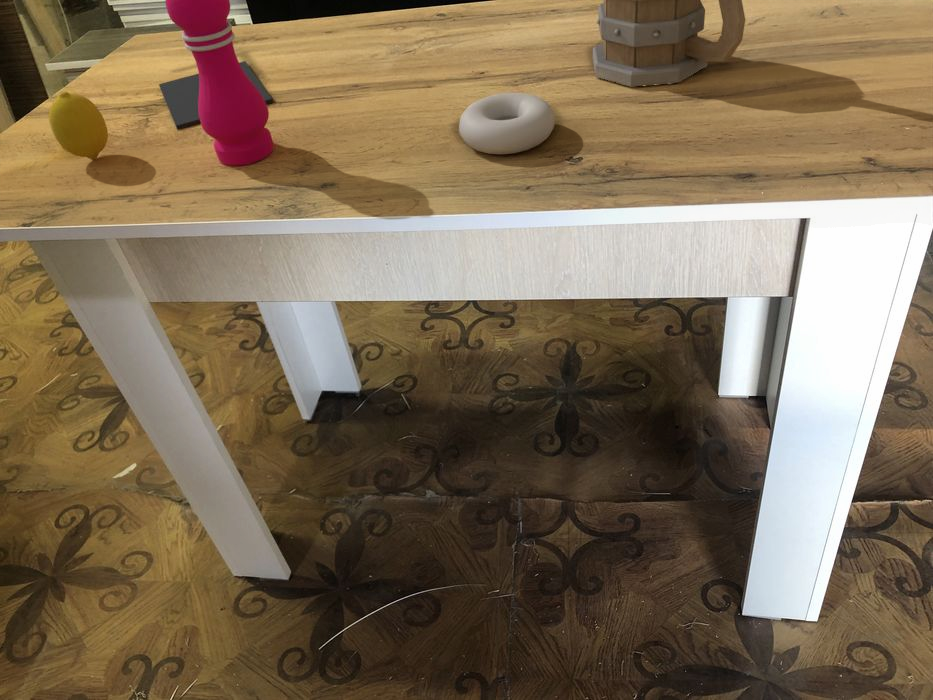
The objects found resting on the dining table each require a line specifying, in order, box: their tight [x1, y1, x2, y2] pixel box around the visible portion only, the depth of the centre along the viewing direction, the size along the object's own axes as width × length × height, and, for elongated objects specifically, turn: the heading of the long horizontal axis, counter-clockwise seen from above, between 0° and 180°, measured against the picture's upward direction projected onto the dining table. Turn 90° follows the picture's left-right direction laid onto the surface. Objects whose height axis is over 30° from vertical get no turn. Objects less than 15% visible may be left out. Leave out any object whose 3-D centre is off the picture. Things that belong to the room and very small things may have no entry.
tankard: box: [592, 0, 746, 88], centre depth 84 cm, size 20×13×15 cm, turn 42°
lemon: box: [48, 91, 109, 161], centre depth 87 cm, size 6×6×8 cm
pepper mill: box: [165, 0, 275, 167], centre depth 79 cm, size 7×7×20 cm
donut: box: [458, 92, 556, 155], centre depth 80 cm, size 10×4×10 cm
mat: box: [158, 60, 274, 130], centre depth 100 cm, size 12×16×1 cm
